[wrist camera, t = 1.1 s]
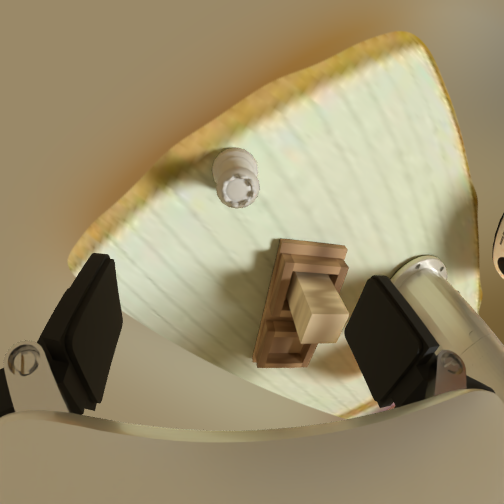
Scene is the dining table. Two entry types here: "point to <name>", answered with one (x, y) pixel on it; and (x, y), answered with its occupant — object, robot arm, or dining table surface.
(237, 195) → the rook chess piece
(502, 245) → the milk container
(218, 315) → the dining table surface
